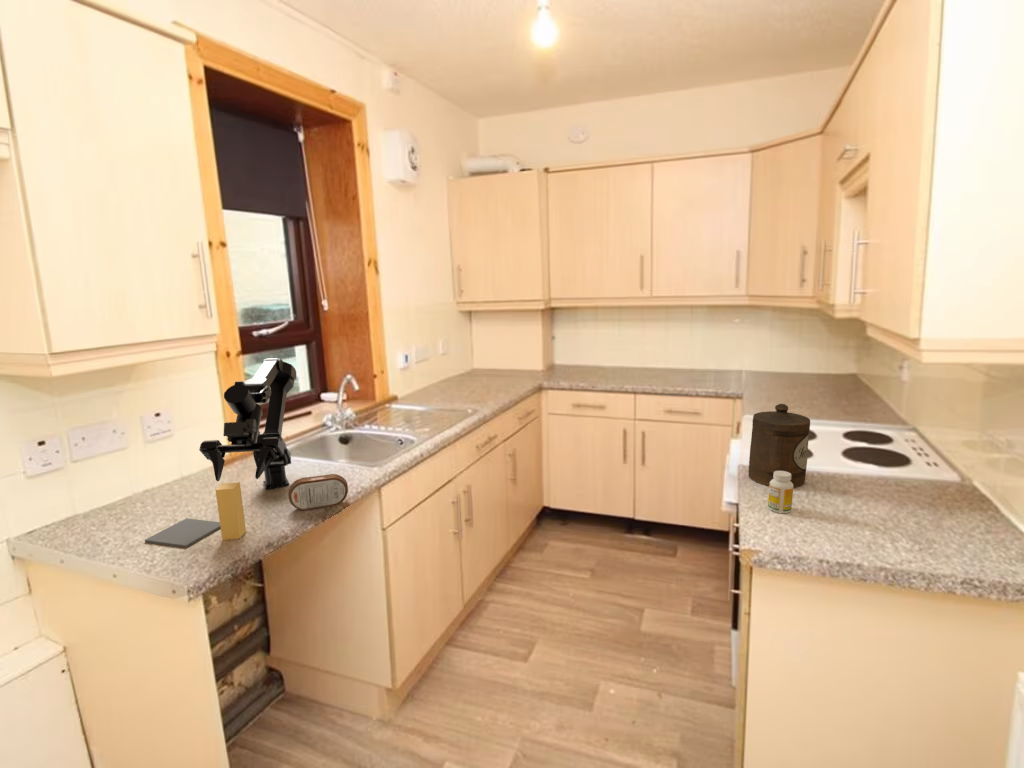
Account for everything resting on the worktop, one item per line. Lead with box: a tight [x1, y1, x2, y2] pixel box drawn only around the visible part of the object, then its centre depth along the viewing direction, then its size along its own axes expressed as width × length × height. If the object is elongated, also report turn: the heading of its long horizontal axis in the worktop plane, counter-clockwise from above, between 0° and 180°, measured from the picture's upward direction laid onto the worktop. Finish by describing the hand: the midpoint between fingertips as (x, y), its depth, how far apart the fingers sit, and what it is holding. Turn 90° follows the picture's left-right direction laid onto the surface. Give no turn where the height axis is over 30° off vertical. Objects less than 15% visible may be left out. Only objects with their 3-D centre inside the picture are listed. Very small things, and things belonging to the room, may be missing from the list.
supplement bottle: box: [767, 471, 794, 514], centre depth 140 cm, size 5×5×10 cm
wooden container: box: [748, 403, 811, 488], centre depth 159 cm, size 15×15×22 cm
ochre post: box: [215, 481, 247, 541], centre depth 133 cm, size 4×4×12 cm
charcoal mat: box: [144, 517, 221, 549], centre depth 136 cm, size 12×12×1 cm
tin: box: [287, 473, 349, 511], centre depth 149 cm, size 15×3×8 cm, turn 111°
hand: (237, 479), depth 137 cm, fingers open, 9 cm apart
